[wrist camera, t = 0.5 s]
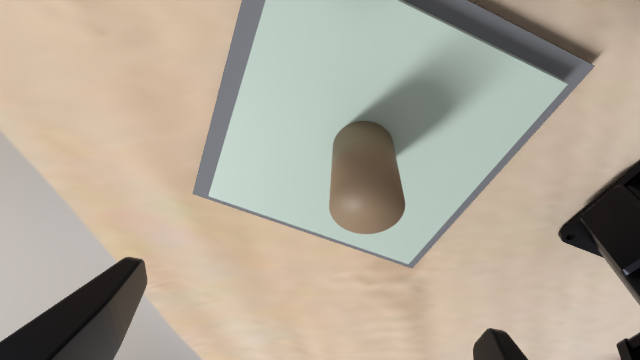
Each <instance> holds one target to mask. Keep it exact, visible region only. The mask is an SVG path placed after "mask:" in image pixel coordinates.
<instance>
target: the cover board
mask: <svg viewBox="0 0 640 360" xmlns="http://www.w3.org/2000/svg"><path fill="white" fill-rule="evenodd" d="M567 85H568V84H567V83H566V82H564V81H563V80H562V79H560V78H559V77H557V76H555V75H553V74H551V73H549V72H547V71H545V70H543V69H541V68H539V67H537V66H535V65H533V64H531V63H529V62H527V61H525V60H523V59H521V58H519V57H517V56H515V55H513V54H511V53H508V52H506V51H504V50H502V49H500V48H498V47H496V46H494V45H492V44H490V43H488V42H486V41H484V40H482V39H480V38H478V37H476V36H474V35H472V34H470V33H468V32H466V31H464V30H462V29H460V28H458V27H456V26H454V25H452V24H450V23H448V22H446V21H444V20H442V19H440V18H438V17H436V16H434V15H432V14H430V13H428V12H426V11H424V10H422V9H420V8H418V7H415V6H413V5H411V4H409V3H407V2H405V1H403V0H266V1H265V4H264V7H263V11H262V14H261V18H260V21H259V25H258V28H257V31H256V35H255V38H254V42H253V45H252V48H251V52H250V55H249V59H248V62H247V66H246V69H245V72H244V76H243V79H242V83H241V86H240V89H239V93H238V96H237V100H236V103H235V107H234V110H233V113H232V117H231V120H230V124H229V127H228V130H227V134H226V137H225V141H224V144H223V148H222V151H221V154H220V158H219V161H218V165H217V168H216V171H215V175H214V178H213V182H212V185H211V189H210V192H209V195H208V196H209V197H212V198H215V199H218V200H221V201H224V202H227V203H230V204H233V205H236V206H239V207H242V208H245V209H248V210H250V211H253V212H256V213H259V214H262V215H265V216H268V217H271V218H274V219H277V220H280V221H283V222H286V223H289V224H292V225H294V226H297V227H300V228H303V229H306V230H309V231H312V232H315V233H318V234H321V235H324V236H327V237H330V238H333V239H336V240H338V241H341V242H344V243H347V244H350V245H353V246H356V247H359V248H362V249H365V250H368V251H371V252H374V253H377V254H380V255H382V256H385V257H388V258H391V259H394V260H397V261H400V262H403V263H406V264H409V263H410V262H411V261H412V260H413V259H414V258H415V257H416V255H417V254H418V253H419V252H420V251H421V250H422V249H423V248H424V246H425V245H426V244H427V243H428V242H429V241H430V240H431V239H432V237H433V236H434V235H435V234H436V233H437V232H438V231H439V229H440V228H441V227H442V226H443V225H444V224H445V223H446V222H447V220H448V219H449V218H450V217H451V216H452V215H453V214H454V213H455V211H456V210H457V209H458V208H459V207H460V206H461V205H462V203H463V202H464V201H465V200H466V199H467V198H468V197H469V196H470V194H471V193H472V192H473V191H474V190H475V189H476V188H477V187H478V185H479V184H480V183H481V182H482V181H483V180H484V179H485V177H486V176H487V175H488V174H489V173H490V172H491V171H492V170H493V168H494V167H495V166H496V165H497V164H498V163H499V162H500V161H501V159H502V158H503V157H504V156H505V155H506V154H507V153H508V151H509V150H510V149H511V148H512V147H513V146H514V145H515V144H516V142H517V141H518V140H519V139H520V138H521V137H522V136H523V134H524V133H525V132H526V131H527V130H528V129H529V128H530V127H531V125H532V124H533V123H534V122H535V121H536V120H537V119H538V118H539V116H540V115H541V114H542V113H543V112H544V111H545V110H546V108H547V107H548V106H549V105H550V104H551V103H552V102H553V101H554V99H555V98H556V97H557V96H558V95H559V94H560V93H561V92H562V90H563V89H564V88H565V87H566V86H567Z"/></svg>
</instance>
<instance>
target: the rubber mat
mask: <svg viewBox="0 0 640 360" xmlns="http://www.w3.org/2000/svg"><path fill="white" fill-rule="evenodd" d="M265 1H266V0H242V3H241V7H240V11H239V14H238V18H237V22H236V26H235V30H234V34H233V38H232V42H231V46H230V50H229V54H228V57H227V61H226V65H225V69H224V73H223V77H222V81H221V85H220V89H219V93H218V97H217V101H216V104H215V108H214V112H213V116H212V120H211V124H210V128H209V132H208V136H207V140H206V144H205V147H204V151H203V155H202V159H201V163H200V167H199V171H198V175H197V179H196V183H195V187H194V190H193V194H195V195H198V196H200V197H203V198H206V199H209V200H212V201H215V202H218V203H221V204H224V205H227V206H230V207H233V208H236V209H239V210H242V211H245V212H248V213H251V214H254V215H256V216H259V217H262V218H265V219H268V220H271V221H274V222H277V223H280V224H283V225H286V226H289V227H292V228H295V229H298V230H301V231H304V232H307V233H309V234H312V235H315V236H318V237H321V238H324V239H327V240H330V241H333V242H336V243H339V244H342V245H345V246H348V247H351V248H354V249H357V250H360V251H363V252H365V253H368V254H371V255H374V256H377V257H380V258H383V259H386V260H389V261H392V262H395V263H398V264H401V265H404V266H407V267H410V268H413V267H414V266H415V265H416V264H417V262H418V261H419V260H420V259H421V258H422V257H423V256H424V255H425V254H426V252H427V251H428V250H429V249H430V248H431V247H432V246H433V245H434V244H435V243H436V241H437V240H438V239H439V238H440V237H441V236H442V235H443V234H444V233H445V231H446V230H447V229H448V228H449V227H450V226H451V225H452V224H453V223H454V221H455V220H456V219H457V218H458V217H459V216H460V215H461V214H462V213H463V212H464V210H465V209H466V208H467V207H468V206H469V205H470V204H471V203H472V202H473V200H474V199H475V198H476V197H477V196H478V195H479V194H480V193H481V192H482V190H483V189H484V188H485V187H486V186H487V185H488V184H489V183H490V182H491V181H492V179H493V178H494V177H495V176H496V175H497V174H498V173H499V172H500V171H501V169H502V168H503V167H504V166H505V165H506V164H507V163H508V162H509V161H510V160H511V158H512V157H513V156H514V155H515V154H516V153H517V152H518V151H519V150H520V148H521V147H522V146H523V145H524V144H525V143H526V142H527V141H528V140H529V138H530V137H531V136H532V135H533V134H534V133H535V132H536V131H537V130H538V129H539V127H540V126H541V125H542V124H543V123H544V122H545V121H546V120H547V119H548V117H549V116H550V115H551V114H552V113H553V112H554V111H555V110H556V109H557V107H558V106H559V105H560V104H561V103H562V102H563V101H564V100H565V99H566V98H567V96H568V95H569V94H570V93H571V92H572V91H573V90H574V89H575V88H576V86H577V85H578V84H579V83H580V82H581V81H582V80H583V79H584V78H585V76H586V75H587V74H588V73H589V72H590V71H591V70H592V69H593V68H594V67H595V66H594V65H592V64H591V63H589V62H587V61H585V60H583V59H581V58H579V57H577V56H575V55H573V54H572V53H570V52H568V51H566V50H564V49H562V48H560V47H558V46H556V45H554V44H552V43H550V42H548V41H546V40H544V39H542V38H540V37H538V36H537V35H535V34H533V33H531V32H529V31H527V30H525V29H523V28H521V27H519V26H517V25H515V24H513V23H511V22H509V21H507V20H505V19H503V18H502V17H500V16H498V15H496V14H494V13H492V12H490V11H488V10H486V9H484V8H482V7H480V6H478V5H476V4H474V3H472V2H470V1H468V0H403V1H405V2H407V3H409V4H411V5H413V6H415V7H418V8H420V9H422V10H424V11H426V12H428V13H430V14H432V15H434V16H436V17H438V18H440V19H442V20H444V21H446V22H448V23H450V24H452V25H454V26H456V27H458V28H460V29H462V30H464V31H466V32H468V33H470V34H472V35H474V36H476V37H478V38H480V39H482V40H484V41H486V42H488V43H490V44H492V45H494V46H496V47H498V48H500V49H502V50H504V51H506V52H508V53H511V54H513V55H515V56H517V57H519V58H521V59H523V60H525V61H527V62H529V63H531V64H533V65H535V66H537V67H539V68H541V69H543V70H545V71H547V72H549V73H551V74H553V75H555V76H557V77H559V78H560V79H562V80H563V81H564V82H566V83H567V84H568V85H567V86H566V87H565V88H564V89H563V90H562V92H561V93H560V94H559V95H558V96H557V97H556V98H555V99H554V101H553V102H552V103H551V104H550V105H549V106H548V107H547V108H546V110H545V111H544V112H543V113H542V114H541V115H540V116H539V118H538V119H537V120H536V121H535V122H534V123H533V124H532V125H531V127H530V128H529V129H528V130H527V131H526V132H525V133H524V134H523V136H522V137H521V138H520V139H519V140H518V141H517V142H516V144H515V145H514V146H513V147H512V148H511V149H510V150H509V151H508V153H507V154H506V155H505V156H504V157H503V158H502V159H501V161H500V162H499V163H498V164H497V165H496V166H495V167H494V168H493V170H492V171H491V172H490V173H489V174H488V175H487V176H486V177H485V179H484V180H483V181H482V182H481V183H480V184H479V185H478V187H477V188H476V189H475V190H474V191H473V192H472V193H471V194H470V196H469V197H468V198H467V199H466V200H465V201H464V202H463V203H462V205H461V206H460V207H459V208H458V209H457V210H456V211H455V213H454V214H453V215H452V216H451V217H450V218H449V219H448V220H447V222H446V223H445V224H444V225H443V226H442V227H441V228H440V229H439V231H438V232H437V233H436V234H435V235H434V236H433V237H432V239H431V240H430V241H429V242H428V243H427V244H426V245H425V246H424V248H423V249H422V250H421V251H420V252H419V253H418V254H417V255H416V257H415V258H414V259H413V260H412V261H411V262H410V263H409V264H406V263H403V262H400V261H397V260H394V259H391V258H388V257H385V256H382V255H380V254H377V253H374V252H371V251H368V250H365V249H362V248H359V247H356V246H353V245H350V244H347V243H344V242H341V241H338V240H336V239H333V238H330V237H327V236H324V235H321V234H318V233H315V232H312V231H309V230H306V229H303V228H300V227H297V226H294V225H292V224H289V223H286V222H283V221H280V220H277V219H274V218H271V217H268V216H265V215H262V214H259V213H256V212H253V211H250V210H248V209H245V208H242V207H239V206H236V205H233V204H230V203H227V202H224V201H221V200H218V199H215V198H212V197H209V196H208V195H209V192H210V189H211V185H212V182H213V178H214V175H215V171H216V168H217V165H218V161H219V158H220V154H221V151H222V148H223V144H224V141H225V137H226V134H227V130H228V127H229V124H230V120H231V117H232V113H233V110H234V107H235V103H236V100H237V96H238V93H239V89H240V86H241V83H242V79H243V76H244V72H245V69H246V66H247V62H248V59H249V55H250V52H251V48H252V45H253V42H254V38H255V35H256V31H257V28H258V25H259V21H260V18H261V14H262V11H263V7H264V4H265Z"/></svg>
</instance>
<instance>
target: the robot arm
mask: <svg viewBox="0 0 640 360" xmlns="http://www.w3.org/2000/svg"><path fill="white" fill-rule="evenodd" d="M558 235H559V237H560V238H561V240H562V241H563V242H565V243H567V244H570V245H573V246H575V247H578V248H580V249H583V250H585V251H588V252H591V253H593V254H596V255H598V256H601V257H603V258H605V260H606V261H607V262H608V264H609V265H610V266H611V268H612V269H613V270H614V272H615V273H616V274H617V276H618V277H619V278H620V280H621V281H622V282H623V284H624V285H625V286H626V288H627V289H628V290H629V292H630V293H631V294H632V296H633V297H634V298H635V300H636V301H637V302H638V304H639V305H640V163H639V164H638V165H637V166H635V167H634V168H633V169H632V170H631V171H629V172H628V173H627V174H626V175H625V176H624V177H622V178H621V179H620V180H619V181H618V182H616V183H615V184H614V185H613V186H612V187H611V188H609V189H608V190H607V191H606V192H605V193H603V194H602V195H601V196H600V197H599V198H598V199H596V200H595V201H594V202H593V203H592V204H590V205H589V206H588V207H587V208H586V209H584V210H583V211H582V212H581V213H580V214H579V215H577V216H576V217H575V218H574V219H573V220H571V221H570V222H569V223H568V224H567V225H566V226H564V227H563V228H562V229H561V230H560V231H559V233H558ZM146 285H147V274H146V268H145V263H144V261H143V260H142V259H138V258H133V257H126V258H124V259H122V260H121V261H119V262H118V263H116V264H115V265H113V266H112V267H110V268H109V269H107V270H106V271H104V272H103V273H102V274H100V275H98V276H97V277H95V278H94V279H92V280H91V281H90V282H88V283H87V284H85V285H84V286H82V287H81V288H79V289H78V290H76V291H75V292H73V293H72V294H70V295H69V296H67V297H66V298H64V299H63V300H61V301H60V302H59V303H57V304H56V305H54V306H53V307H51V308H50V309H48V310H47V311H45V312H44V313H42V314H41V315H39V316H38V317H36V318H35V319H33V320H32V321H30V322H29V323H27V324H26V325H24V326H23V327H22V328H20V329H19V330H17V331H16V332H14V333H13V334H11V335H10V336H8V337H7V338H5V339H4V340H2V341H1V342H0V360H113V359H114V357H115V355H116V353H117V351H118V350H119V348H120V346H121V344H122V341H123V339H124V337H125V335H126V332H127V330H128V328H129V326H130V323H131V321H132V318H133V316H134V314H135V312H136V309H137V307H138V305H139V302H140V300H141V298H142V295H143V293H144V291H145V288H146ZM617 348H618V351H619V354H620V357H621V360H640V333H638V334H636V335H635V336H633V337H631V338H630V339H624V340H622V341H620V342H619V343H617ZM473 357H474V360H528V359H527V358H526V356H525V355H524V354H523V353H522V351H521V350H520V349H519V347H518V346H517V345H516V344H515V342H514V341H513V340H512V339H511V337H510V336H509V335H508V334H507V333H506V332H504V331H502V330H497V329H492V328H489V329H487V330H486V331H485V332H484V333H483V334H482V336H481V337H480V338H479V339H478V340H477V341H476V343H475V345H474V348H473Z"/></svg>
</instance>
